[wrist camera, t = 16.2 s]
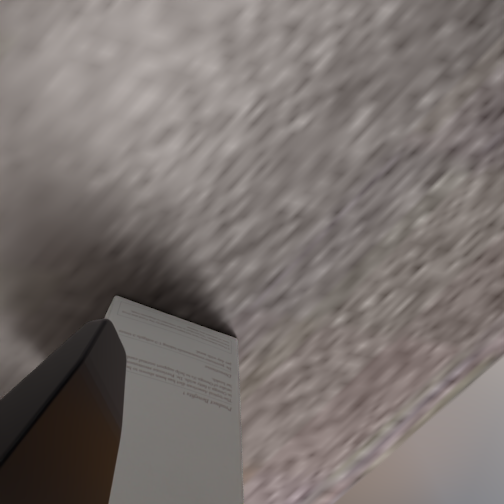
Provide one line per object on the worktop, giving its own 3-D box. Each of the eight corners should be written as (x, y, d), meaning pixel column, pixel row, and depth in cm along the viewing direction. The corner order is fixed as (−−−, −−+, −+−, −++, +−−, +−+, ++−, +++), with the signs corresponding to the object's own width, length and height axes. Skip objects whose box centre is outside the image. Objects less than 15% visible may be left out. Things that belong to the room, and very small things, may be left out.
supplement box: (72, 383, 28) (-31, 653, 17) (115, 289, 24) (23, 547, 13) (189, 420, 30) (165, 682, 19) (243, 338, 26) (253, 596, 15)
